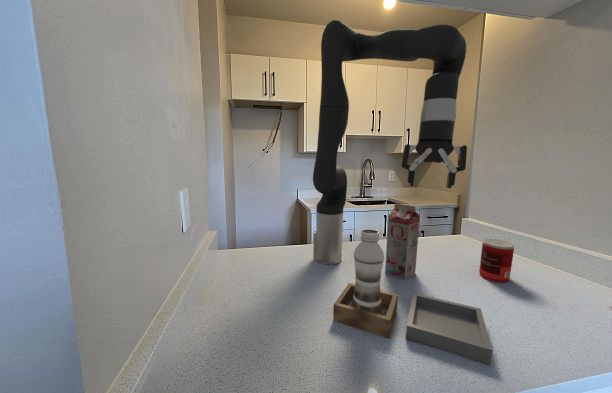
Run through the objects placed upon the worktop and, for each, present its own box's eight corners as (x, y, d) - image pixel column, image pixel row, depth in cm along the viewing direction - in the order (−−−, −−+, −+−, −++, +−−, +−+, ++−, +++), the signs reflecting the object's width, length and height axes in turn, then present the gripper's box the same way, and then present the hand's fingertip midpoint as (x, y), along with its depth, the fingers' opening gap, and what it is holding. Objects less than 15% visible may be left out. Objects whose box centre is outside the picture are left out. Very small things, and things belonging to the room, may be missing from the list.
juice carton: (404, 279, 76) (410, 207, 73) (384, 272, 81) (389, 204, 78) (415, 273, 80) (420, 204, 77) (395, 266, 85) (400, 201, 82)
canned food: (505, 274, 81) (510, 240, 79) (513, 285, 74) (518, 249, 72) (476, 269, 84) (480, 237, 82) (481, 279, 77) (485, 244, 75)
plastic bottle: (382, 326, 55) (388, 237, 52) (350, 322, 56) (354, 234, 53) (380, 309, 61) (385, 228, 58) (351, 305, 63) (354, 226, 60)
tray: (405, 339, 51) (406, 325, 51) (412, 304, 64) (413, 292, 63) (490, 365, 45) (492, 350, 44) (479, 320, 57) (480, 308, 57)
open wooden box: (333, 320, 57) (333, 304, 56) (348, 297, 66) (349, 282, 66) (389, 338, 51) (390, 320, 51) (396, 310, 61) (398, 294, 60)
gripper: (466, 122, 63) (457, 187, 66) (405, 122, 68) (399, 183, 70) (475, 118, 56) (465, 190, 59) (406, 118, 61) (400, 186, 63)
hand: (429, 186), depth 65 cm, fingers open, 8 cm apart
